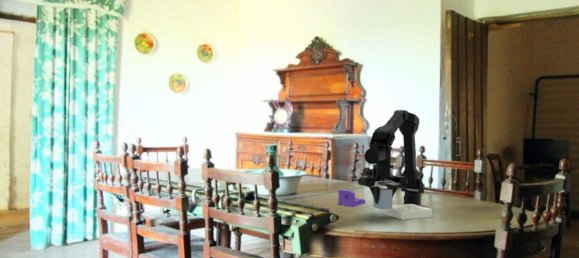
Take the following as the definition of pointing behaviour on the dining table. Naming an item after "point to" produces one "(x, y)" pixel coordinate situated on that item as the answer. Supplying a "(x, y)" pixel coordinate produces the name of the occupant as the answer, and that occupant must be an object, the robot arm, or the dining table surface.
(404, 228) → the dining table surface
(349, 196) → the bracket
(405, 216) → the well
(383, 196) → the block
